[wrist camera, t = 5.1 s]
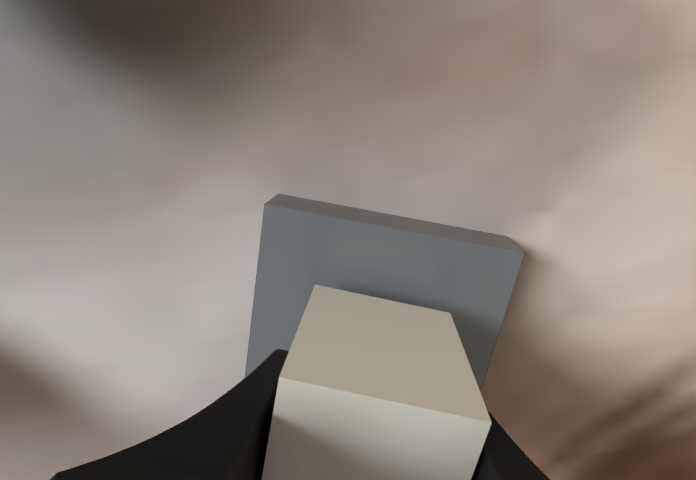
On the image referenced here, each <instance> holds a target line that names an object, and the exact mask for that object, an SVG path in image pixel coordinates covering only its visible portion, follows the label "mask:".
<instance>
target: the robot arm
mask: <svg viewBox="0 0 696 480" xmlns="http://www.w3.org/2000/svg"><path fill="white" fill-rule="evenodd" d="M288 353H289V351H287V350H282V349H276V350H275V351H273V352H272V353H271V354H270V355H269V356H268V357H267V358H266V359H265V360H264V361H263V362H262V363H261V364H260V365H259V366H258V367H257V368H256V369H255V370H254V371H252V372H251V373H250V374H249V375H248V376H247V377H245V378H244V379H243V380H242V381H241V382H240V383H238V384H237V385H236V386H235V387H233V388H232V389H231V390H229V391H228V392H227V393H225V394H224V395H223V396H221V397H220V398H219V399H217V400H216V401H215V402H213V403H212V404H210V405H209V406H207V407H206V408H204V409H203V410H201V411H200V412H198V413H197V414H195V415H193V416H192V417H190V418H188V419H187V420H185V421H183V422H181V423H180V424H178V425H176V426H174V427H172V428H170V429H168V430H166V431H164V432H162V433H160V434H158V435H157V436H155V437H152V438H150V439H148V440H146V441H144V442H141V443H139V444H137V445H135V446H132V447H130V448H127V449H125V450H122V451H120V452H117V453H115V454H112V455H110V456H107V457H104V458H101V459H98V460H95V461H92V462H89V463H86V464H83V465H80V466H77V467H74V468H71V469H68V470H65V471H62V472H58V473H57V474H55V475H54V476H53V477H52V478H51V479H50V480H262V474H263V468H264V463H265V457H266V451H267V445H268V439H269V433H270V427H271V421H272V415H273V409H274V403H275V398H276V392H277V386H278V380H279V376H280V373H281V371H282V368H283V365H284V363H285V360H286V358H287V355H288ZM487 411H488V410H487ZM488 414H489V417H490V419H491V422H492V423H491V426H490V429H489V432H488V434H487V437H486V440H485V443H484V445H483V448H482V451H481V454H480V456H479V459H478V462H477V465H476V467H475V470H474V473H473V475H472V478H471V480H550V479H549V478H548V477H547V476H546V475H545V474H544V473H543V472H542V471H541V470H540V469H539V468H538V467H537V466H536V465H535V464H534V463H533V462H532V461H531V460H530V459H529V458H528V457H527V456H526V455H525V453H524V452H523V451H522V450H521V449H520V448H519V447H518V446H517V445H516V443H515V442H514V441H513V440H512V439H511V438H510V437H509V435H508V434H507V433H506V432H505V431H504V429H503V428H502V427H501V426H500V425H499V423H498V422H497V421H496V420H495V419H494V417H493V416H492V415H491V414H490V412H489V411H488Z"/></svg>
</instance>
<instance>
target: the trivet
mask: <svg viewBox="0 0 696 480" xmlns="http://www.w3.org/2000/svg"><path fill="white" fill-rule="evenodd" d="M524 254H525V253H524V252H523V251H522V250H521V249H520V248H519V247H518V246H517V245H516V244H515V243H513V242H512V241H511V240H510V239H509V238H508V237H507V236H501V235H496V234H491V233H485V232H480V231H475V230H469V229H464V228H459V227H453V226H448V225H443V224H437V223H432V222H426V221H421V220H416V219H410V218H405V217H400V216H394V215H389V214H384V213H378V212H373V211H368V210H362V209H357V208H352V207H346V206H341V205H336V204H330V203H325V202H320V201H314V200H309V199H303V198H298V197H293V196H287V195H282V194H278V195H276V196H275V197H274V198H272V199H271V200H269V201H268V202H267V203H265V204H264V212H263V221H262V230H261V239H260V248H259V257H258V265H257V274H256V283H255V292H254V301H253V310H252V319H251V327H250V336H249V345H248V354H247V363H246V372H245V377H247V376H248V375H249V374H250V373H251V372H252V371H254V370H255V369H256V368H257V367H258V366H259V365H260V364H261V363H262V362H263V361H264V360H265V359H266V358H267V357H268V356H269V355H270V354H271V353H272V352H273V351H275V350H276V349H282V350H287V351H289V350H290V347H291V345H292V342H293V340H294V337H295V335H296V332H297V329H298V327H299V324H300V322H301V319H302V317H303V314H304V311H305V309H306V306H307V304H308V301H309V299H310V296H311V293H312V291H313V288H314V286H315V285H320V286H325V287H329V288H334V289H339V290H344V291H348V292H353V293H358V294H363V295H367V296H372V297H377V298H382V299H386V300H391V301H396V302H401V303H405V304H410V305H415V306H420V307H424V308H429V309H434V310H439V311H443V312H448V313H450V314H451V316H452V319H453V322H454V324H455V327H456V329H457V332H458V335H459V337H460V340H461V343H462V345H463V348H464V351H465V353H466V356H467V358H468V361H469V364H470V366H471V369H472V372H473V374H474V377H475V380H476V382H477V385H478V388H479V390H480V391H481V388H482V384H483V381H484V378H485V375H486V372H487V369H488V366H489V363H490V359H491V356H492V353H493V350H494V347H495V344H496V341H497V338H498V335H499V331H500V328H501V325H502V322H503V319H504V316H505V313H506V310H507V307H508V303H509V300H510V297H511V294H512V291H513V288H514V285H515V282H516V278H517V275H518V272H519V269H520V266H521V263H522V260H523V257H524Z"/></svg>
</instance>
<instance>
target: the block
mask: <svg viewBox="0 0 696 480" xmlns="http://www.w3.org/2000/svg"><path fill="white" fill-rule="evenodd" d="M491 423H492V422H491V419H490V417H489V414H488V411H487V409H486V406H485V403H484V401H483V398H482V395H481V393H480V390H479V388H478V385H477V382H476V380H475V377H474V374H473V372H472V369H471V366H470V364H469V361H468V358H467V356H466V353H465V351H464V348H463V345H462V343H461V340H460V337H459V335H458V332H457V329H456V327H455V324H454V322H453V319H452V316H451V314H450V313H448V312H443V311H439V310H434V309H429V308H424V307H420V306H415V305H410V304H405V303H401V302H396V301H391V300H386V299H382V298H377V297H372V296H367V295H363V294H358V293H353V292H348V291H344V290H339V289H334V288H329V287H325V286H320V285H315V286H314V288H313V291H312V293H311V296H310V299H309V301H308V304H307V306H306V309H305V311H304V314H303V317H302V319H301V322H300V324H299V327H298V329H297V332H296V335H295V337H294V340H293V342H292V345H291V347H290V350H289V353H288V355H287V358H286V360H285V363H284V365H283V368H282V371H281V373H280V376H279V380H278V386H277V392H276V398H275V403H274V409H273V415H272V421H271V427H270V433H269V439H268V445H267V451H266V457H265V463H264V468H263V474H262V480H471V478H472V475H473V473H474V470H475V467H476V465H477V462H478V459H479V456H480V454H481V451H482V448H483V445H484V443H485V440H486V437H487V434H488V432H489V429H490V426H491Z"/></svg>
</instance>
